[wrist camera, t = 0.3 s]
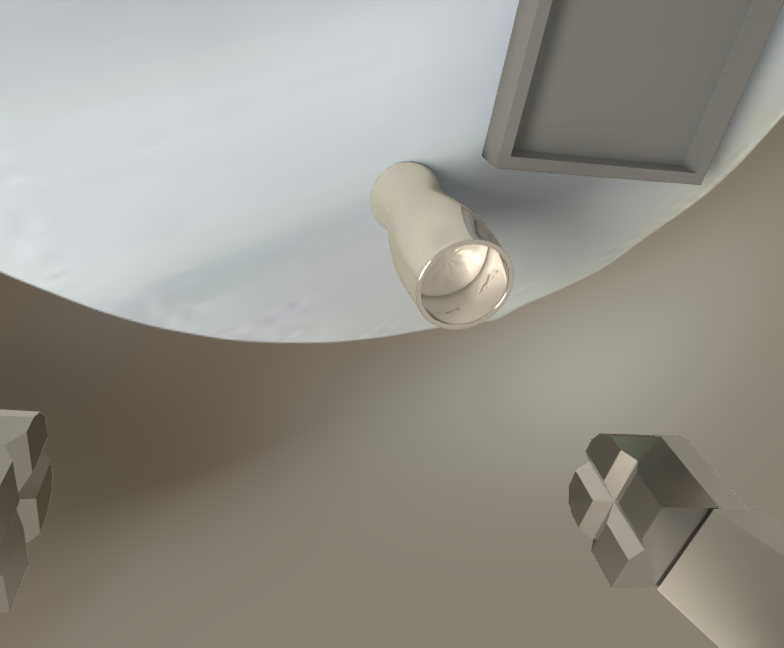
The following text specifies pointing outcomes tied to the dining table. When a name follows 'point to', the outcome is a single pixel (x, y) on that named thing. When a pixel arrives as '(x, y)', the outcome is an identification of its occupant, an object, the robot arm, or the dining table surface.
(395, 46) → the dining table surface
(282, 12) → the dining table surface
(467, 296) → the beer glass
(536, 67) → the tray
